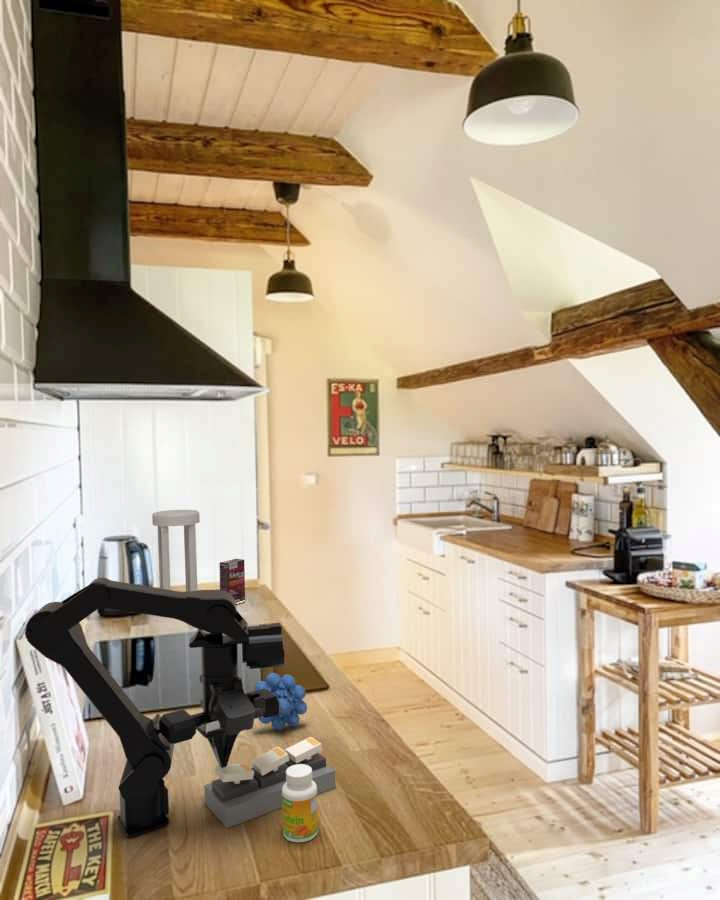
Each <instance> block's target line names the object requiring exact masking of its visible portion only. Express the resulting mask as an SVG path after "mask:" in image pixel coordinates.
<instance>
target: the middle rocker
mask: <svg viewBox="0 0 720 900" xmlns="http://www.w3.org/2000/svg"><path fill="white" fill-rule="evenodd" d="M287 761H289V757H288V754H287V753H286V750H284V749H282V748H281V747H279V745H278V746H275V747H274V748H272V749H270V750H268V751H266V752H265V753H263V754H261V755H259V756H257V757H256V758H254V759H252V760H251V762H250V763H251V766H252V768H254V769H255V770H256V771H257V772H258V773H260V774H261V775H262V776H263V775H265V774H267V773H268V772H270V771H272V770H273V771H274V772H275V771H276V770H278V767H279V766H280V765H282V764H284V763H286V762H287Z"/></svg>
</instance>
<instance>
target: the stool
mask: <svg viewBox="0 0 720 900" xmlns="http://www.w3.org/2000/svg"><path fill="white" fill-rule="evenodd" d="M151 516H152V525H153V526H155V527H157V543H158V544H157V549H158V572H159V573H158V575H159V579H158V580H159V588H161V589H167V590H171V588H172V587H171V566H170V565H171V564H170V561H171V560H170V538H169V537H170V536H169V535H170V532H169V531H170V530H169V527H181V526H182V527H183V536H184V537H183V541H184V542H183V543H184V544H183V545H184V546H183V547H184V568H185V569H184V571H185V577H184V578H185V592H190V591H198V590H199V589H198V564H197V537H196V535H197V534H196V533H197V531H196V524H198V523H200V521H201V520H200V516H201V515H200V512H199V511H198V510H196V509H171V510H161V511H160V510H159V511H157V512H153V513H151Z"/></svg>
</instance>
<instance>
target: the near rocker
mask: <svg viewBox="0 0 720 900" xmlns="http://www.w3.org/2000/svg"><path fill="white" fill-rule="evenodd" d="M251 768H252V767H250V766H249V765H247V764H246V763H245V762H243V763H242V762H240V763H232V764H231V763H230V764H229V763H228V764H227V767H225V768H221V767H220V766H219V764H218V765H215V768H214V774H215V775H216V776H217V777H218V779H221V780H222V781H223V782H230V781H233V782H234V783H235V784H239V783H240V780H249V779H253V776H254V771H253V770H252V769H251Z"/></svg>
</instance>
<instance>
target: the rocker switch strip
mask: <svg viewBox="0 0 720 900" xmlns="http://www.w3.org/2000/svg"><path fill="white" fill-rule="evenodd" d="M296 764H305V765H308V766H310V767H311V768H312V780H313V781H314V782H315V783H316V786H317V795H319V793H320V794H322V793H325V792H328V791H330V790H333V789H335V788H337V787H336V769H334V768H332V767H331V766H330V765H329V764H327V758H326V757H325V756H323V755H322V754H320V752H318V753H316V754H314V755H312V756H311V759H309V760H306V759H304V760H302V761H301V762H299V763H295V762H294V761H293V760H291V759H290V758H289V761H287V762H286V763H284V764H282V765H280V766H279V767H278V770H276V771H275V772H274V771H273V770H272V771H270V772H268V773H267V774H265V775H263V776H262V775H261V774H260V773H258V772H257V771H256V770H255V769H254V768H253V767H250V768H251V769H252V770H253V771H254V776H253V779H249V780H240V783H239V784H235V783H234V782H233V781H230V782H223V781H222V780H221V779H220V778H217V779H215V780H211V782H210V783H207V784H204V785H203V787H204V788H203V790H204V792H203V793H204V794H203V795H204V804H205V805H206V806H207V807H208V809H210V812H212V813H213V814H214V815H215V817H216V818H217V819H218V820H219V821H220V822H221V823H222V825H223V826H224V827H225V828H226V829H228V828H232V827H234V826H237V825H240V824H242V823H244V822H247V821H250V820H252V819H255V818H258V817H260V816H263V815H266V814H268V813H271V812H274V811H276V810H279V809H282V788H283V785H284V784H285V783H286V782H287V781H286V770H287V768H289V767H290V766H292V765H296ZM321 792H322V793H321Z"/></svg>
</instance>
